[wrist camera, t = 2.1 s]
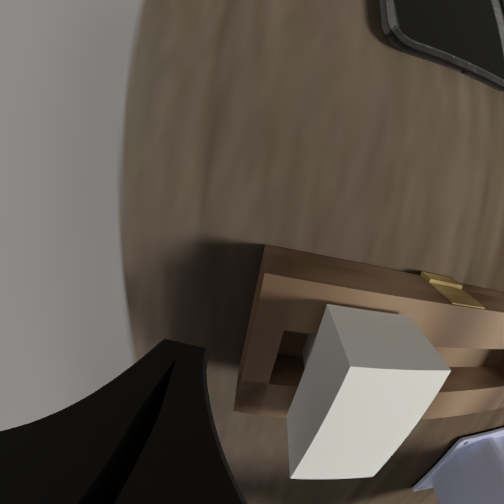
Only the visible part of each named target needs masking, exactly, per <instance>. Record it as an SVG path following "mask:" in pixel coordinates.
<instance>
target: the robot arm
mask: <svg viewBox="0 0 504 504" xmlns="http://www.w3.org/2000/svg"><path fill="white" fill-rule="evenodd" d="M208 354H209V352H208V351H207V349H206V348H203V347H198V346H193V345H189V344H184V343H180V342H176V341H172V340H167V339H164V340H162V341H161V342H160V343H159V344H157V345H156V346H155V347H154V348H153V349H152V350H151V351H149V352H148V353H147V354H146V355H145V356H143V357H142V358H141V359H140V360H139V361H137V362H136V363H135V364H134V365H132V366H131V367H130V368H128V369H127V370H126V371H124V372H123V373H122V374H120V375H119V376H118V377H116V378H115V379H114V380H112V381H111V382H109V383H108V384H106V385H105V386H103V387H102V388H100V389H99V390H97V391H96V392H94V393H92V394H91V395H89V396H87V397H86V398H84V399H82V400H80V401H79V402H77V403H75V404H73V405H71V406H69V407H67V408H65V409H63V410H61V411H59V412H56V413H54V414H52V415H49V416H47V417H45V418H42V419H40V420H37V421H34V422H32V423H29V424H25V425H22V426H18V427H15V428H11V429H8V430H4V431H0V504H247V502H246V500H245V498H244V497H243V495H242V493H241V491H240V489H239V487H238V485H237V483H236V481H235V479H234V477H233V475H232V472H231V470H230V468H229V465H228V463H227V461H226V458H225V455H224V452H223V450H222V447H221V444H220V441H219V438H218V435H217V431H216V428H215V424H214V420H213V416H212V411H211V406H210V401H209V394H208V388H207V374H206V369H207V361H208ZM432 487H433V489H434V492H435V494H436V497H437V500H438V503H439V504H504V427H503V428H499V429H496V430H492V431H488V432H484V433H480V434H476V435H472V436H467V437H463V438H460V439H459V440H458V441H457V442H456V443H455V444H454V445H453V446H452V447H451V449H450V450H449V451H448V452H447V453H446V454H445V455H444V456H443V457H442V459H441V460H440V461H439V462H438V463H437V464H436V465H435V466H434V467H433V468H432V469H431V470H430V471H429V472H428V473H427V474H426V475H425V476H424V477H423V478H422V479H421V480H420V481H419V482H418V483H417V484H416V485H415V486H414V487H413V488H412V490H413V491H419V490H424V489H428V488H432Z"/></svg>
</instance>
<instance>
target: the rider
mask: <svg viewBox="0 0 504 504" xmlns="http://www.w3.org/2000/svg"><path fill="white" fill-rule="evenodd" d="M302 354H303V361H304V367H305V370H304V372H303V375H302V378H301V380H300V383H299V386H298V388H297V391H296V393H295V396H294V398H293V401H292V403H291V406H290V408H289V411H288V413H287V430H288V448H289V469H290V479H349V478H364V477H373V476H374V475H375V474H376V473H377V472H378V471H379V470H380V469H381V468H382V466H383V465H384V464H385V463H386V462H387V461H388V460H389V458H390V457H391V456H392V455H393V454H394V452H395V451H396V450H397V449H398V448H399V446H400V445H401V444H402V443H403V441H404V440H405V439H406V437H407V436H408V435H409V433H410V432H411V431H412V430H413V428H414V427H415V425H416V424H417V423H418V421H419V420H420V419H421V417H422V416H423V414H424V413H425V411H426V410H427V408H428V407H429V405H430V404H431V402H432V401H433V399H434V398H435V396H436V395H437V393H438V392H439V390H440V388H441V387H442V385H443V384H444V382H445V380H446V379H447V377H448V375H449V374H450V372H451V369H450V368H449V367H448V365H447V364H446V362H445V361H444V360H443V358H442V357H441V356H440V354H439V353H438V352H437V350H436V349H435V348H434V346H433V345H432V344H431V342H430V341H429V340H428V339H427V337H426V336H425V335H424V333H423V332H422V331H421V330H420V328H419V327H418V326H417V324H416V323H415V322H414V321H413V319H412V318H411V317H410V316H406V315H399V314H391V313H384V312H377V311H370V310H363V309H357V308H350V307H343V306H337V305H331V304H327V305H326V309H325V312H324V315H323V318H322V321H321V324H320V327H319V330H318V333H317V335H314V334H308V336H307V339H306V342H305V345H304V348H303V351H302Z"/></svg>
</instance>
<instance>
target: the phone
mask: <svg viewBox="0 0 504 504" xmlns="http://www.w3.org/2000/svg"><path fill="white" fill-rule="evenodd" d="M379 1H380V12H381V24H382V28H383V32H384V34H385V36H386V37H387V39H388V40H389V41H390V42H391V43H392V45H393V46H395V47H396V48H398V49H399V50H400V51H402V52H405V53H407V54H410V55H413V56H416V57H419V58H422V59H425V60H428V61H431V62H434V63H437V64H439V65H442V66H445V67H447V68H450V69H452V70H455V71H457V72H460V73H462V74H465V75H467V76H469V77H471V78H474V79H476V80H478V81H480V82H482V83H484V84H487V85H489V86H491V87H493V88H495V89H497V90H499V91H502V92H504V1H503V0H379ZM422 56H424V57H422ZM451 65H452V66H451ZM453 66H454V67H453ZM456 67H457V68H456ZM458 68H459V69H458ZM460 69H462V70H460ZM463 70H464V71H463Z"/></svg>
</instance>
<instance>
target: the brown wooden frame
mask: <svg viewBox="0 0 504 504" xmlns="http://www.w3.org/2000/svg"><path fill="white" fill-rule="evenodd" d="M327 304H331V305H337V306H343V307H350V308H357V309H363V310H370V311H377V312H384V313H391V314H399V315H406V316H410V317H411V318H412V319H413V321H414V322H415V323H416V324H417V326H418V327H419V328H420V330H421V331H422V332H423V333H424V335H425V336H426V337H427V339H428V340H429V341H430V342H431V344H432V345H433V346H434V348H435V349H436V350H437V352H438V353H439V354H440V356H441V357H442V358H443V360H444V361H445V362H446V364H447V365H448V367H449V368H450V369H451V372H450V374H449V375H448V377H447V379H446V380H445V382H444V384H443V385H442V387H441V388H440V390H439V392H438V393H437V395H436V396H435V398H434V399H433V401H432V402H431V404H430V405H429V407H428V408H427V410H426V411H425V413H424V414H423V416H422V417H421V419H420V420H422V419H433V418H443V417H451V416H458V415H465V414H471V413H477V412H483V411H488V410H493V409H498V408H503V407H504V293H503V292H498V291H494V290H489V289H484V288H479V287H475V286H470V285H465V284H460V283H459V282H458V281H456V280H455V279H454V278H451V277H446V276H441V275H437V274H432V273H427V272H423V271H421V274H420V275H417V274H412V273H407V272H402V271H397V270H392V269H387V268H382V267H377V266H372V265H367V264H362V263H357V262H352V261H347V260H342V259H337V258H332V257H327V256H322V255H317V254H311V253H306V252H301V251H296V250H291V249H286V248H280V247H275V246H270V245H265V246H264V251H263V256H262V261H261V266H260V271H259V276H258V280H257V285H256V290H255V295H254V299H253V304H252V309H251V314H250V318H249V323H248V328H247V332H246V337H245V342H244V346H243V351H242V356H241V360H240V365H239V372H238V380H237V388H236V396H235V404H234V411H237V412H243V413H250V414H257V415H264V416H273V417H281V418H287V413H288V411H289V408H290V406H291V403H292V401H293V398H294V396H295V393H296V391H297V388H298V386H299V383H300V380H301V378H302V375H303V372H304V370H305V367H304V361H303V354H302V351H303V348H304V345H305V342H306V339H307V336H308V334H314V335H317V333H318V330H319V327H320V324H321V321H322V318H323V315H324V312H325V309H326V305H327Z"/></svg>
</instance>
